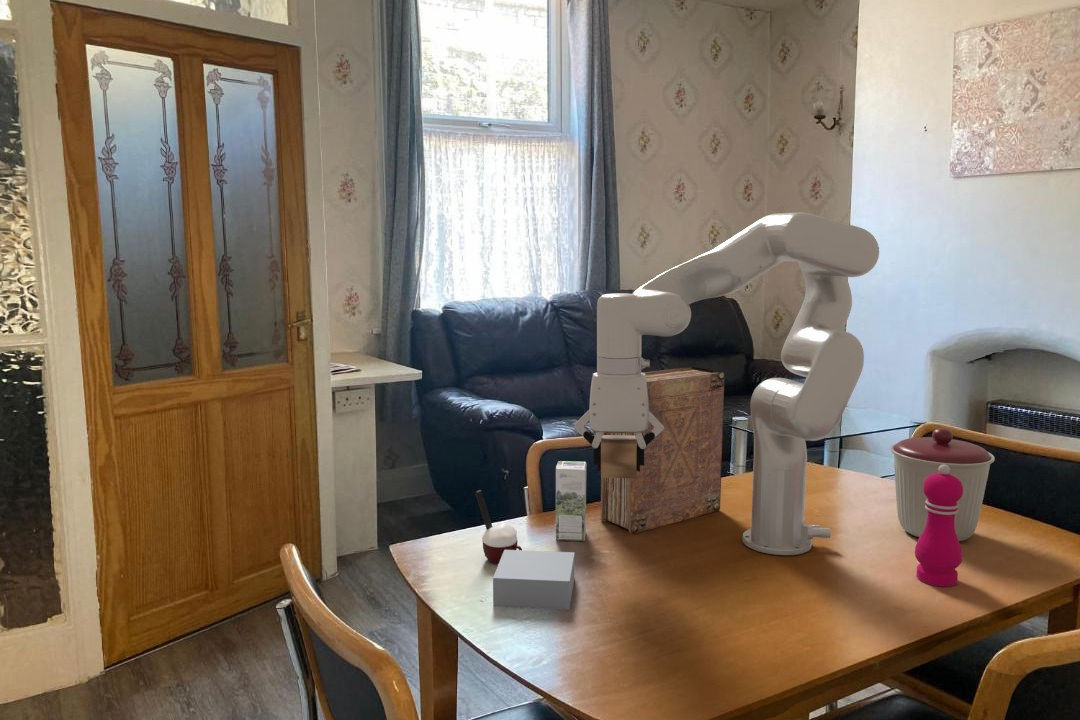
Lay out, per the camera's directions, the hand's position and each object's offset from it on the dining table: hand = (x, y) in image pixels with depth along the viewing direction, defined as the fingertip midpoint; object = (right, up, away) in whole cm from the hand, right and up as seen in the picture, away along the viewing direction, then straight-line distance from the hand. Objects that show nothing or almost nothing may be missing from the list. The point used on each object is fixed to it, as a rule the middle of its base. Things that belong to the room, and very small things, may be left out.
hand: (618, 468), depth 141 cm
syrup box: (-8, -16, +17) cm, 25 cm away
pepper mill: (+53, -19, -3) cm, 57 cm away
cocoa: (-21, -17, +6) cm, 28 cm away
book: (+12, -14, +29) cm, 34 cm away
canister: (+64, -15, +18) cm, 68 cm away
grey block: (-14, -20, -8) cm, 26 cm away
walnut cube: (0, -1, 0) cm, 1 cm away
